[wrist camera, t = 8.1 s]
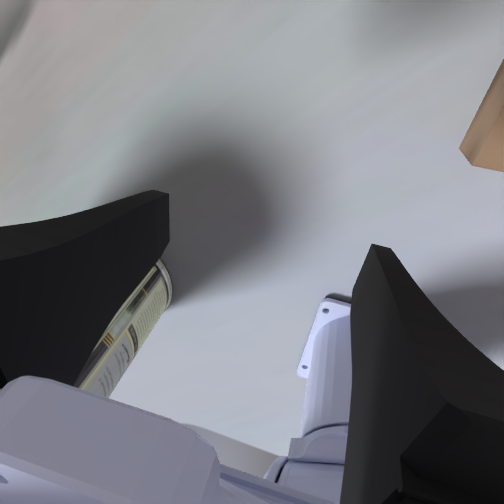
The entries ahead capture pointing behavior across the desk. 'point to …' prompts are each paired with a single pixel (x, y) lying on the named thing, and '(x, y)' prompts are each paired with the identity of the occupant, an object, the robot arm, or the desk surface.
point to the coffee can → (126, 333)
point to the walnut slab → (488, 129)
